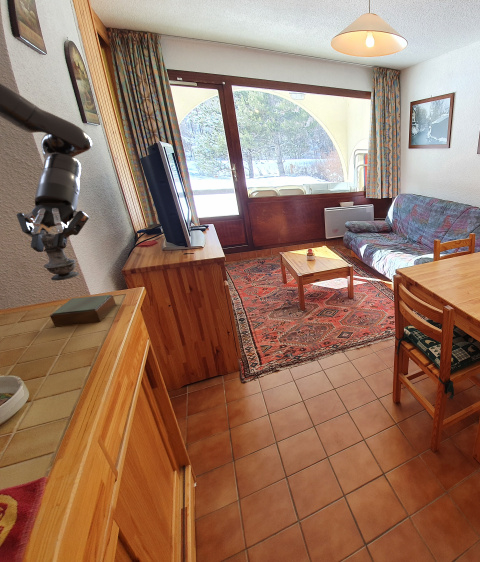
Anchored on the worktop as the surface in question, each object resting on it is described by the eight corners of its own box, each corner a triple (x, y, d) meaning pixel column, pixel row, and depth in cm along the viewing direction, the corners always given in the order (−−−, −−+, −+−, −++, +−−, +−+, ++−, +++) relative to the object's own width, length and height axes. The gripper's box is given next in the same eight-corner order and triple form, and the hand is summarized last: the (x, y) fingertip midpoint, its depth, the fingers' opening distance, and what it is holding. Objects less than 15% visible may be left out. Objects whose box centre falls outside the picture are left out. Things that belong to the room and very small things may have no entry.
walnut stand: (54, 326, 81) (49, 314, 80) (75, 309, 90) (70, 298, 88) (100, 321, 84) (95, 309, 83) (116, 305, 93) (112, 293, 91)
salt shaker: (43, 279, 77) (21, 232, 72) (69, 271, 82) (51, 226, 77) (60, 282, 76) (40, 234, 71) (86, 273, 81) (69, 228, 76)
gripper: (11, 181, 75) (-4, 244, 69) (82, 180, 78) (73, 240, 73) (35, 200, 81) (23, 259, 76) (99, 199, 85) (93, 254, 79)
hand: (48, 249), depth 74 cm, fingers closed on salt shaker, 3 cm apart
